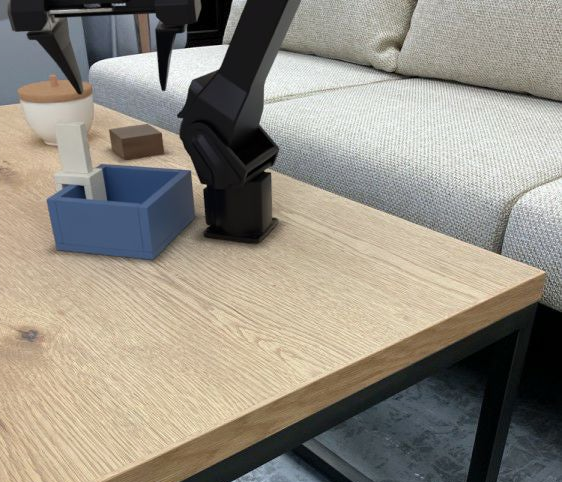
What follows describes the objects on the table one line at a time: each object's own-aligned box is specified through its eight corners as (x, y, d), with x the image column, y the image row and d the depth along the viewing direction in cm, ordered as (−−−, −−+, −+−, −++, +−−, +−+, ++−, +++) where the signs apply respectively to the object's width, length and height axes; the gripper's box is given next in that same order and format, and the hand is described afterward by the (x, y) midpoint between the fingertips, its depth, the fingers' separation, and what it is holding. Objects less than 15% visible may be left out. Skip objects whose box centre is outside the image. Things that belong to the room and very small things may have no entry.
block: (164, 153, 102) (162, 132, 100) (124, 160, 99) (121, 138, 97) (150, 143, 106) (147, 123, 104) (111, 149, 104) (108, 129, 102)
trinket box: (26, 135, 111) (12, 72, 106) (94, 128, 114) (84, 66, 109) (31, 153, 102) (16, 85, 97) (104, 145, 105) (94, 79, 100)
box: (195, 217, 81) (191, 169, 77) (153, 260, 71) (147, 207, 68) (108, 209, 83) (101, 163, 80) (56, 250, 73) (45, 199, 70)
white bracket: (108, 208, 78) (94, 120, 72) (96, 218, 75) (80, 127, 70) (74, 205, 79) (58, 118, 73) (61, 215, 76) (43, 125, 71)
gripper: (196, -94, 72) (212, 63, 83) (18, -85, 73) (56, 70, 83) (185, -74, 64) (204, 98, 74) (-17, -64, 65) (31, 105, 75)
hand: (122, 91), depth 77 cm, fingers open, 9 cm apart
